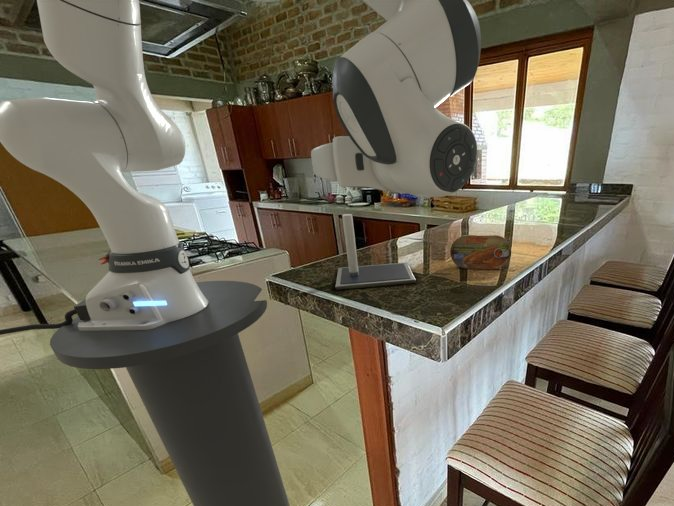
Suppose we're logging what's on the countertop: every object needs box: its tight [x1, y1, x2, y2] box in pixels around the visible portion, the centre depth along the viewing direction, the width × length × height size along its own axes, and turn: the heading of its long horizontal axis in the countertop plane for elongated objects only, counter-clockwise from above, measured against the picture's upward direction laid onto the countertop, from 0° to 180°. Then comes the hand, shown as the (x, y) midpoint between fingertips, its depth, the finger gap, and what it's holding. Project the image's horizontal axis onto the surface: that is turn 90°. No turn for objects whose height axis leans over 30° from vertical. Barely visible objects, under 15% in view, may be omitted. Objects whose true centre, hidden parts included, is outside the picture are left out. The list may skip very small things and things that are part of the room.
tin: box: [449, 234, 512, 270], centre depth 84 cm, size 15×3×8 cm, turn 76°
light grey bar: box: [341, 213, 359, 276], centre depth 78 cm, size 2×2×14 cm
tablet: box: [334, 262, 417, 291], centre depth 82 cm, size 18×14×1 cm
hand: (360, 160), depth 60 cm, fingers open, 8 cm apart
